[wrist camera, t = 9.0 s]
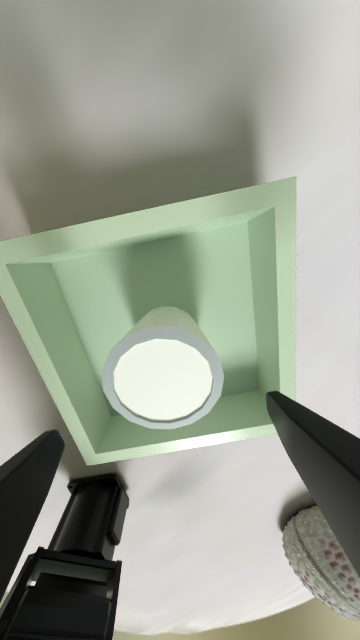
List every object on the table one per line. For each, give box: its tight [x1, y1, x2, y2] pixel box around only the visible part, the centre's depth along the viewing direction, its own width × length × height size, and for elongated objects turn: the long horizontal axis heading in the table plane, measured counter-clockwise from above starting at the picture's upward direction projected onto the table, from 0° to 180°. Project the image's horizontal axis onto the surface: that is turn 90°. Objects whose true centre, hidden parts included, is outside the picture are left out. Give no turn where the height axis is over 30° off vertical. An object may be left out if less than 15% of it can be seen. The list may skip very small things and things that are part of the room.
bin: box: [0, 177, 296, 466], centre depth 15 cm, size 18×18×5 cm
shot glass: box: [102, 306, 224, 429], centre depth 13 cm, size 7×7×7 cm
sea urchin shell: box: [282, 505, 360, 621], centre depth 24 cm, size 13×14×8 cm
